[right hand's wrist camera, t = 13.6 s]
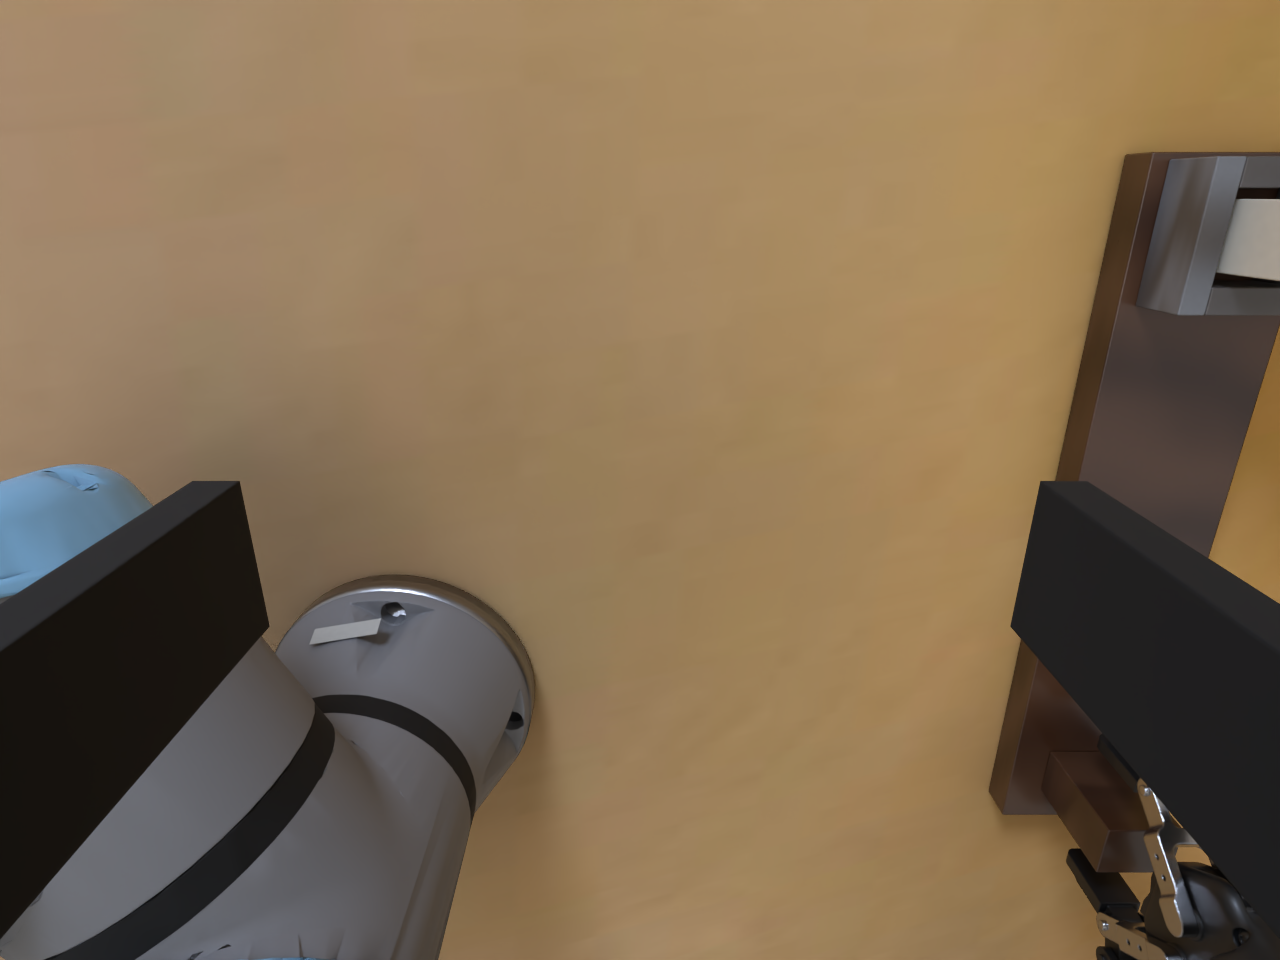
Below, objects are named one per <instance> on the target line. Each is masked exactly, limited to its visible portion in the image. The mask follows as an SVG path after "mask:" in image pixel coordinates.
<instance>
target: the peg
mask: <svg viewBox="0 0 1280 960" xmlns="http://www.w3.org/2000/svg"><path fill="white" fill-rule="evenodd" d="M1216 273H1223V274H1230V275H1238V276H1245V277H1253V278H1260V279H1267V280H1275V281H1280V199H1235V203H1234V207H1233V210H1232V214H1231V218H1230V221H1229V225H1228V229H1227V233H1226V236H1225V240H1224V244H1223V247H1222V251H1221V255H1220V259H1219V262H1218V266H1217V270H1216Z"/></svg>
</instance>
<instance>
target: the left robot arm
mask: <svg viewBox="0 0 1280 960" xmlns="http://www.w3.org/2000/svg"><path fill="white" fill-rule="evenodd" d="M1097 748H1098V750H1099V751H1100V752H1101V753H1102V754H1103V756H1104V757H1105V758H1106V759H1107V760H1108V762H1109V763H1110V764H1111V765H1112V767H1113V768H1114V769H1115V770H1116V771H1117V773H1118V774H1119V775H1120V776H1121V777H1122V779H1123V780H1124V781H1125V782H1126V783H1127V785H1128V786H1129V787H1130V788H1131V789H1132V791H1133V792H1138V794H1139V797H1140V800H1141V803H1142V806H1143V809H1144V812H1145V815H1146V818H1147V821H1148V824H1149V829H1148V830H1147V831H1146V832H1145V833H1144V837H1143V838H1144V842H1145V845H1146V848H1147V851H1148V855H1149V858H1150V861H1151V864H1152V867H1153V870H1154V871H1153V874H1152V877H1151V889H1150V893H1149V895H1148V896H1147V897H1146V898H1145V899H1144V901H1143V904H1142V907H1141V910H1140V912H1138V909H1139V906H1140V902H1139V901H1138V899H1137V898H1136V896H1135V895H1134V894H1133V892H1132V891H1131V889H1130V888H1129V887H1128V885H1127V884H1126V882H1125V881H1124V879H1123V878H1122V877H1121V875H1120V874H1119V872H1096V871H1095V869H1094V868H1093V866H1092V865H1091V863H1090V862H1089V860H1088V859H1087V857H1086V856H1085V854H1084V853H1083V851H1082V850H1081V849H1070V850H1069V852H1068V855H1067V859H1066V863H1067V864H1068V866H1069V868H1070V869H1071V871H1072V872H1073V874H1074V875H1075V878H1076V880H1077V882H1078V884H1079V885H1080V887H1081V888H1082V889H1083V892H1084V893H1085V895H1087V898H1088V899H1089V901H1090V903H1091V904H1092V906H1093V907H1094V909H1095V910H1096V912H1097V918H1096V920H1097V925H1098V928H1099V931H1100V932H1101V934H1102V935H1103V936H1104V937H1105V946H1099V947H1097V949H1096V956H1097V960H1280V939H1279V938H1278V937H1277V936H1276V935H1275V933H1274V932H1273V931H1272V930H1271V929H1270V928H1269V927H1268V925H1267V924H1266V923H1265V922H1264V921H1263V920H1262V918H1261V917H1260V916H1259V915H1258V914H1257V913H1256V911H1255V910H1254V909H1253V908H1252V907H1251V906H1250V904H1249V903H1248V902H1247V901H1246V900H1245V899H1244V897H1243V896H1242V895H1241V894H1240V893H1239V892H1238V890H1237V889H1236V888H1235V887H1234V886H1233V885H1232V883H1231V882H1230V881H1229V880H1228V879H1227V878H1226V876H1225V875H1224V874H1223V873H1222V872H1221V871H1220V870H1219V868H1218V867H1217V866H1216V865H1215V864H1214V863H1213V861H1212V860H1211V859H1210V858H1209V860H1210V863H1211V865H1212V867H1211V866H1208V865H1205V864H1202V863H1198V862H1177V861H1176V858H1175V854H1174V850H1175V848H1176V847H1197V848H1200V849H1201V847H1200V846H1199V845H1198V844H1197V843H1196V842H1195V840H1194V839H1193V838H1192V837H1191V836H1190V835H1189V833H1188V832H1187V831H1186V830H1185V829H1184V828H1179V827H1177V826H1175V825H1174V823H1173V822H1172V819H1171V816H1170V813H1169V810H1168V809H1167V808H1166V807H1165V806H1164V804H1163V803H1162V802H1161V801H1160V800H1159V799H1158V797H1157V796H1156V795H1155V794H1154V793H1153V792H1152V790H1151V789H1150V788H1149V787H1148V786H1147V785H1146V783H1145V782H1144V781H1143V780H1142V779H1141V778H1140V776H1139V775H1138V774H1137V773H1136V772H1135V771H1134V769H1133V768H1132V767H1131V766H1130V765H1129V764H1128V763H1127V761H1126V760H1125V759H1124V758H1123V757H1122V756H1121V754H1120V753H1119V752H1118V751H1117V750H1116V749H1115V747H1114V746H1113V745H1112V744H1111V743H1110V742H1109V740H1108V739H1107V738H1106V737H1105V736H1104V735H1103V734H1101V735H1100V736H1099V740H1098V744H1097Z"/></svg>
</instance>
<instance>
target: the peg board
mask: <svg viewBox="0 0 1280 960" xmlns="http://www.w3.org/2000/svg"><path fill="white" fill-rule="evenodd" d="M1235 199H1280V152H1149V153H1137V154H1127V155H1126V157H1125V161H1124V166H1123V171H1122V175H1121V180H1120V184H1119V189H1118V194H1117V198H1116V203H1115V208H1114V212H1113V217H1112V222H1111V226H1110V231H1109V236H1108V240H1107V245H1106V249H1105V254H1104V259H1103V263H1102V268H1101V273H1100V277H1099V282H1098V287H1097V291H1096V296H1095V300H1094V305H1093V310H1092V314H1091V319H1090V324H1089V328H1088V333H1087V338H1086V342H1085V347H1084V352H1083V356H1082V361H1081V365H1080V370H1079V375H1078V379H1077V384H1076V389H1075V393H1074V398H1073V403H1072V407H1071V412H1070V417H1069V421H1068V426H1067V430H1066V435H1065V440H1064V444H1063V449H1062V454H1061V458H1060V463H1059V468H1058V472H1057V477H1056V481H1088V482H1089V483H1091V484H1093V485H1094V486H1096V487H1097V488H1099V489H1100V490H1102V491H1103V492H1105V493H1107V494H1108V495H1110V496H1111V497H1113V498H1114V499H1116V500H1118V501H1119V502H1121V503H1122V504H1124V505H1125V506H1127V507H1129V508H1130V509H1132V510H1133V511H1135V512H1136V513H1138V514H1139V515H1141V516H1143V517H1144V518H1146V519H1147V520H1149V521H1150V522H1152V523H1154V524H1155V525H1157V526H1158V527H1160V528H1161V529H1163V530H1165V531H1166V532H1168V533H1169V534H1171V535H1172V536H1174V537H1176V538H1177V539H1179V540H1180V541H1182V542H1183V543H1185V544H1186V545H1188V546H1190V547H1191V548H1193V549H1194V550H1196V551H1197V552H1199V553H1201V554H1202V555H1204V556H1205V557H1207V558H1208V557H1209V554H1210V551H1211V547H1212V544H1213V541H1214V538H1215V534H1216V531H1217V528H1218V524H1219V521H1220V518H1221V515H1222V511H1223V508H1224V505H1225V502H1226V498H1227V495H1228V492H1229V489H1230V485H1231V482H1232V479H1233V476H1234V472H1235V469H1236V466H1237V463H1238V459H1239V456H1240V453H1241V449H1242V446H1243V443H1244V440H1245V436H1246V433H1247V430H1248V427H1249V423H1250V420H1251V417H1252V414H1253V410H1254V407H1255V404H1256V401H1257V397H1258V394H1259V391H1260V388H1261V384H1262V381H1263V378H1264V374H1265V371H1266V368H1267V365H1268V361H1269V358H1270V355H1271V352H1272V348H1273V345H1274V342H1275V339H1276V335H1277V332H1278V329H1279V326H1280V281H1275V280H1267V279H1260V278H1253V277H1245V276H1238V275H1230V274H1223V273H1216V270H1217V266H1218V262H1219V259H1220V255H1221V251H1222V247H1223V244H1224V240H1225V236H1226V233H1227V229H1228V225H1229V221H1230V218H1231V214H1232V210H1233V207H1234V203H1235ZM1101 734H1103V733H1102V732H1101V731H1100V730H1099V729H1098V728H1097V726H1096V725H1095V724H1094V723H1093V722H1092V721H1091V719H1090V718H1089V717H1088V716H1087V715H1086V714H1085V712H1084V711H1083V710H1082V709H1081V708H1080V707H1079V706H1078V704H1077V703H1076V702H1075V701H1074V700H1073V699H1072V697H1071V696H1070V695H1069V694H1068V693H1067V692H1066V690H1065V689H1064V688H1063V687H1062V686H1061V685H1060V683H1059V682H1058V681H1057V680H1056V679H1055V678H1054V676H1053V675H1052V674H1051V673H1050V672H1049V671H1048V669H1047V668H1046V667H1045V666H1044V665H1043V664H1042V662H1041V661H1040V660H1039V659H1038V658H1037V657H1036V656H1035V654H1034V653H1033V652H1032V651H1031V650H1030V649H1029V647H1028V646H1027V645H1026V644H1025V643H1024V642H1023V640H1022V639H1021V644H1020V649H1019V653H1018V658H1017V663H1016V667H1015V672H1014V677H1013V681H1012V686H1011V690H1010V695H1009V700H1008V704H1007V709H1006V714H1005V718H1004V723H1003V728H1002V732H1001V737H1000V742H999V746H998V751H997V755H996V760H995V765H994V769H993V774H992V779H991V783H990V788H989V792H990V794H991V796H992V797H993V799H994V801H995V803H996V804H997V806H998V808H999V809H1000V811H1001V813H1002V814H1003V815H1058V816H1059V817H1060V819H1061V820H1062V822H1063V823H1064V825H1065V826H1066V828H1067V829H1068V831H1069V832H1070V834H1071V835H1072V837H1073V838H1074V840H1075V841H1076V843H1077V844H1078V846H1079V847H1080V848H1081V850H1082V851H1083V853H1084V854H1085V856H1086V857H1087V859H1088V860H1089V862H1090V863H1091V865H1092V866H1093V868H1094V869H1095V871H1096V872H1153V871H1154V870H1153V867H1152V864H1151V861H1150V858H1149V855H1148V851H1147V848H1146V845H1145V842H1144V838H1143V837H1144V833H1145V832H1146V831H1147V830H1148V829H1149V824H1148V821H1147V818H1146V815H1145V812H1144V809H1143V806H1142V803H1141V800H1140V797H1139V794H1138V792H1133V791H1132V789H1131V788H1130V787H1129V786H1128V785H1127V783H1126V782H1125V781H1124V780H1123V779H1122V777H1121V776H1120V775H1119V774H1118V773H1117V771H1116V770H1115V769H1114V768H1113V767H1112V765H1111V764H1110V763H1109V762H1108V760H1107V759H1106V758H1105V757H1104V756H1103V754H1102V753H1101V752H1100V751H1099V750H1098V748H1097V744H1098V740H1099V736H1100V735H1101ZM1170 816H1171V815H1170ZM1171 819H1172V822H1173V823H1174V825H1175V826H1177V827H1179V828H1181V827H1180V826H1179V824H1178V823H1177V822H1176V821H1175V820H1174V819H1173V817H1172V816H1171ZM1177 849H1178V847H1176V848H1175V850H1174V854H1175V855H1176V852H1177Z"/></svg>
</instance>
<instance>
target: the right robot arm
mask: <svg viewBox="0 0 1280 960" xmlns="http://www.w3.org/2000/svg"><path fill="white" fill-rule="evenodd" d="M268 628H269V621H268V617H267V612H266V607H265V602H264V597H263V592H262V588H261V583H260V578H259V573H258V568H257V563H256V559H255V554H254V549H253V544H252V539H251V534H250V530H249V525H248V520H247V515H246V510H245V505H244V501H243V496H242V491H241V486H240V481H192V482H191V483H189V484H187V485H186V486H184V487H183V488H181V489H180V490H178V491H177V492H175V493H173V494H172V495H170V496H169V497H167V498H166V499H164V500H162V501H161V502H159V503H158V504H156V505H155V506H153V505H152V504H151V503H150V502H149V501H148V500H147V499H146V498H145V496H144V495H143V494H142V493H141V492H140V491H139V490H138V489H137V487H136V486H135V485H134V484H132V483H131V482H130V481H129V480H128V479H127V478H125V477H124V476H122V475H121V474H119V473H117V472H115V471H112V470H110V469H107V468H104V467H100V466H95V465H87V464H72V465H61V466H56V467H51V468H46V469H42V470H38V471H34V472H31V473H28V474H24V475H21V476H18V477H14V478H11V479H8V480H5V481H2V482H0V956H1V957H3V958H4V959H5V960H438V958H439V954H440V950H441V946H442V942H443V938H444V933H445V929H446V925H447V921H448V917H449V913H450V909H451V905H452V901H453V897H454V893H455V889H456V885H457V881H458V877H459V873H460V869H461V865H462V861H463V857H464V852H465V848H466V844H467V840H468V836H469V831H470V828H471V824H472V820H473V817H474V813H475V812H476V811H477V809H478V808H479V807H480V805H481V804H482V803H483V801H484V800H485V799H486V797H487V796H488V795H489V793H490V792H491V791H492V789H493V788H494V787H495V786H496V784H497V783H498V782H499V780H500V779H501V778H502V776H503V775H504V774H505V772H506V771H507V770H508V768H509V767H510V766H511V764H512V763H513V762H514V760H515V759H516V757H517V756H518V754H519V753H520V751H521V749H522V747H523V745H524V743H525V740H526V737H527V734H528V730H529V726H530V721H531V717H532V712H533V707H534V699H535V683H534V676H533V671H532V667H531V664H530V661H529V658H528V656H527V653H526V651H525V649H524V647H523V645H522V643H521V642H520V640H519V639H518V637H517V636H516V634H515V633H514V631H513V630H512V629H511V628H510V626H509V625H508V624H507V623H506V622H505V621H504V620H503V619H502V618H501V617H500V616H499V615H498V614H497V613H496V612H495V611H494V610H492V609H491V608H490V607H489V606H487V605H486V604H485V603H483V602H482V601H480V600H479V599H477V598H475V597H474V596H472V595H470V594H469V593H467V592H465V591H463V590H460V589H458V588H456V587H454V586H451V585H448V584H446V583H443V582H439V581H436V580H433V579H428V578H423V577H417V576H409V575H380V576H373V577H366V578H362V579H358V580H354V581H351V582H349V583H346V584H343V585H341V586H339V587H336V588H334V589H332V590H331V591H329V592H327V593H326V594H324V595H322V596H321V597H320V598H318V599H317V600H316V601H314V602H313V603H312V604H311V605H310V606H309V607H308V608H307V609H306V610H305V611H304V612H303V613H302V615H301V616H300V617H299V618H298V619H297V621H296V622H295V623H294V624H293V626H292V627H291V628H290V629H289V630H288V632H287V633H286V634H285V636H284V637H283V639H282V640H281V642H280V643H279V646H278V648H277V650H276V652H275V653H274V651H273V650H272V649H271V648H270V646H269V645H268V644H267V643H266V641H265V640H264V639H263V638H262V635H263V633H264V632H265V631H266V630H267V629H268ZM1011 628H1012V629H1013V630H1014V631H1015V632H1016V633H1017V635H1018V636H1019V637H1020V638H1021V639H1022V640H1023V642H1024V643H1025V644H1026V645H1027V646H1028V647H1029V649H1030V650H1031V651H1032V652H1033V653H1034V654H1035V656H1036V657H1037V658H1038V659H1039V660H1040V661H1041V662H1042V664H1043V665H1044V666H1045V667H1046V668H1047V669H1048V671H1049V672H1050V673H1051V674H1052V675H1053V676H1054V678H1055V679H1056V680H1057V681H1058V682H1059V683H1060V685H1061V686H1062V687H1063V688H1064V689H1065V690H1066V692H1067V693H1068V694H1069V695H1070V696H1071V697H1072V699H1073V700H1074V701H1075V702H1076V703H1077V704H1078V706H1079V707H1080V708H1081V709H1082V710H1083V711H1084V712H1085V714H1086V715H1087V716H1088V717H1089V718H1090V719H1091V721H1092V722H1093V723H1094V724H1095V725H1096V726H1097V728H1098V729H1099V730H1100V731H1101V732H1102V733H1103V735H1104V736H1105V737H1106V738H1107V739H1108V740H1109V742H1110V743H1111V744H1112V745H1113V746H1114V747H1115V749H1116V750H1117V751H1118V752H1119V753H1120V754H1121V756H1122V757H1123V758H1124V759H1125V760H1126V761H1127V763H1128V764H1129V765H1130V766H1131V767H1132V768H1133V769H1134V771H1135V772H1136V773H1137V774H1138V775H1139V776H1140V778H1141V779H1142V780H1143V781H1144V782H1145V783H1146V785H1147V786H1148V787H1149V788H1150V789H1151V790H1152V792H1153V793H1154V794H1155V795H1156V796H1157V797H1158V799H1159V800H1160V801H1161V802H1162V803H1163V804H1164V806H1165V807H1166V808H1167V809H1168V810H1169V811H1170V813H1171V814H1172V815H1173V816H1174V817H1175V818H1176V820H1177V821H1178V822H1179V823H1180V824H1181V825H1182V826H1183V828H1184V829H1185V830H1186V831H1187V832H1188V833H1189V835H1190V836H1191V837H1192V838H1193V839H1194V840H1195V842H1196V843H1197V844H1198V845H1199V846H1200V847H1201V849H1202V850H1203V851H1204V852H1205V853H1206V854H1207V856H1208V857H1209V858H1210V859H1211V860H1212V861H1213V863H1214V864H1215V865H1216V866H1217V867H1218V868H1219V870H1220V871H1221V872H1222V873H1223V874H1224V875H1225V876H1226V878H1227V879H1228V880H1229V881H1230V882H1231V883H1232V885H1233V886H1234V887H1235V888H1236V889H1237V890H1238V892H1239V893H1240V894H1241V895H1242V896H1243V897H1244V899H1245V900H1246V901H1247V902H1248V903H1249V904H1250V906H1251V907H1252V908H1253V909H1254V910H1255V911H1256V913H1257V914H1258V915H1259V916H1260V917H1261V918H1262V920H1263V921H1264V922H1265V923H1266V924H1267V925H1268V927H1269V928H1270V929H1271V930H1272V931H1273V932H1274V933H1275V935H1276V936H1277V937H1278V938H1279V939H1280V604H1279V603H1277V602H1276V601H1274V600H1273V599H1271V598H1269V597H1268V596H1266V595H1265V594H1263V593H1262V592H1260V591H1258V590H1257V589H1255V588H1254V587H1252V586H1251V585H1249V584H1248V583H1246V582H1244V581H1243V580H1241V579H1240V578H1238V577H1237V576H1235V575H1233V574H1232V573H1230V572H1229V571H1227V570H1226V569H1224V568H1222V567H1221V566H1219V565H1218V564H1216V563H1215V562H1213V561H1212V560H1210V559H1208V558H1207V557H1205V556H1204V555H1202V554H1201V553H1199V552H1197V551H1196V550H1194V549H1193V548H1191V547H1190V546H1188V545H1186V544H1185V543H1183V542H1182V541H1180V540H1179V539H1177V538H1176V537H1174V536H1172V535H1171V534H1169V533H1168V532H1166V531H1165V530H1163V529H1161V528H1160V527H1158V526H1157V525H1155V524H1154V523H1152V522H1150V521H1149V520H1147V519H1146V518H1144V517H1143V516H1141V515H1139V514H1138V513H1136V512H1135V511H1133V510H1132V509H1130V508H1129V507H1127V506H1125V505H1124V504H1122V503H1121V502H1119V501H1118V500H1116V499H1114V498H1113V497H1111V496H1110V495H1108V494H1107V493H1105V492H1103V491H1102V490H1100V489H1099V488H1097V487H1096V486H1094V485H1093V484H1091V483H1089V482H1088V481H1040V486H1039V491H1038V496H1037V501H1036V505H1035V510H1034V515H1033V520H1032V525H1031V530H1030V534H1029V539H1028V544H1027V549H1026V554H1025V559H1024V563H1023V568H1022V573H1021V578H1020V583H1019V588H1018V592H1017V597H1016V602H1015V607H1014V612H1013V617H1012V621H1011Z"/></svg>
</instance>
